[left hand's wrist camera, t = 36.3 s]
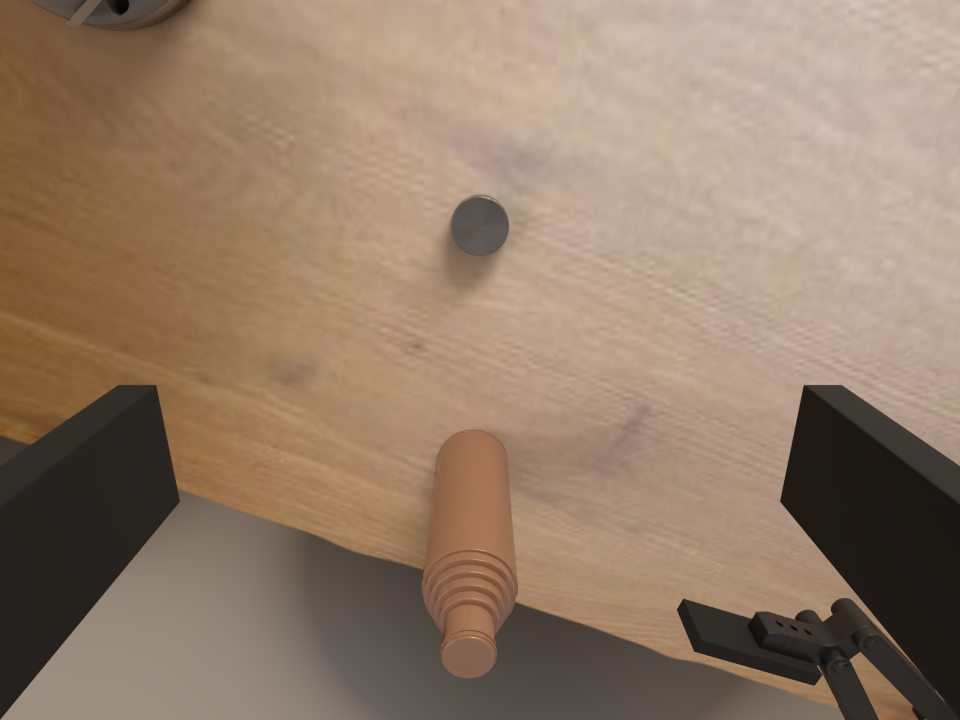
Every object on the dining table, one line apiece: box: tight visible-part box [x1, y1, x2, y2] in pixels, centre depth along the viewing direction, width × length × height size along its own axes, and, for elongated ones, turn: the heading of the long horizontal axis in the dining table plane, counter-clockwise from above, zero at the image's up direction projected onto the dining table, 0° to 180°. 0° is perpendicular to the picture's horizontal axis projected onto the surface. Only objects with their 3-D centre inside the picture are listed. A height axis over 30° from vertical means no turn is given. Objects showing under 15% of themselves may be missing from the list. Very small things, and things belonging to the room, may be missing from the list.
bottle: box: [422, 430, 518, 678], centre depth 42 cm, size 6×6×21 cm
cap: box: [451, 195, 509, 256], centre depth 44 cm, size 4×4×2 cm
